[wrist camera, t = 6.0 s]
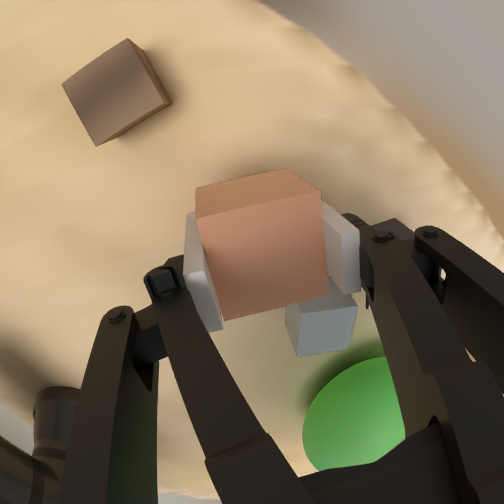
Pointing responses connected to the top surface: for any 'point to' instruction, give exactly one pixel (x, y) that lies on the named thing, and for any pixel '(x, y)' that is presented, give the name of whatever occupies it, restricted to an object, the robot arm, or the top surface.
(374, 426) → the toy bird
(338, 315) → the slate grey cube
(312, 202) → the terracotta cube
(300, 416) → the top surface
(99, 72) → the walnut cube
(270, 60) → the top surface
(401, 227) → the black rubber cube
